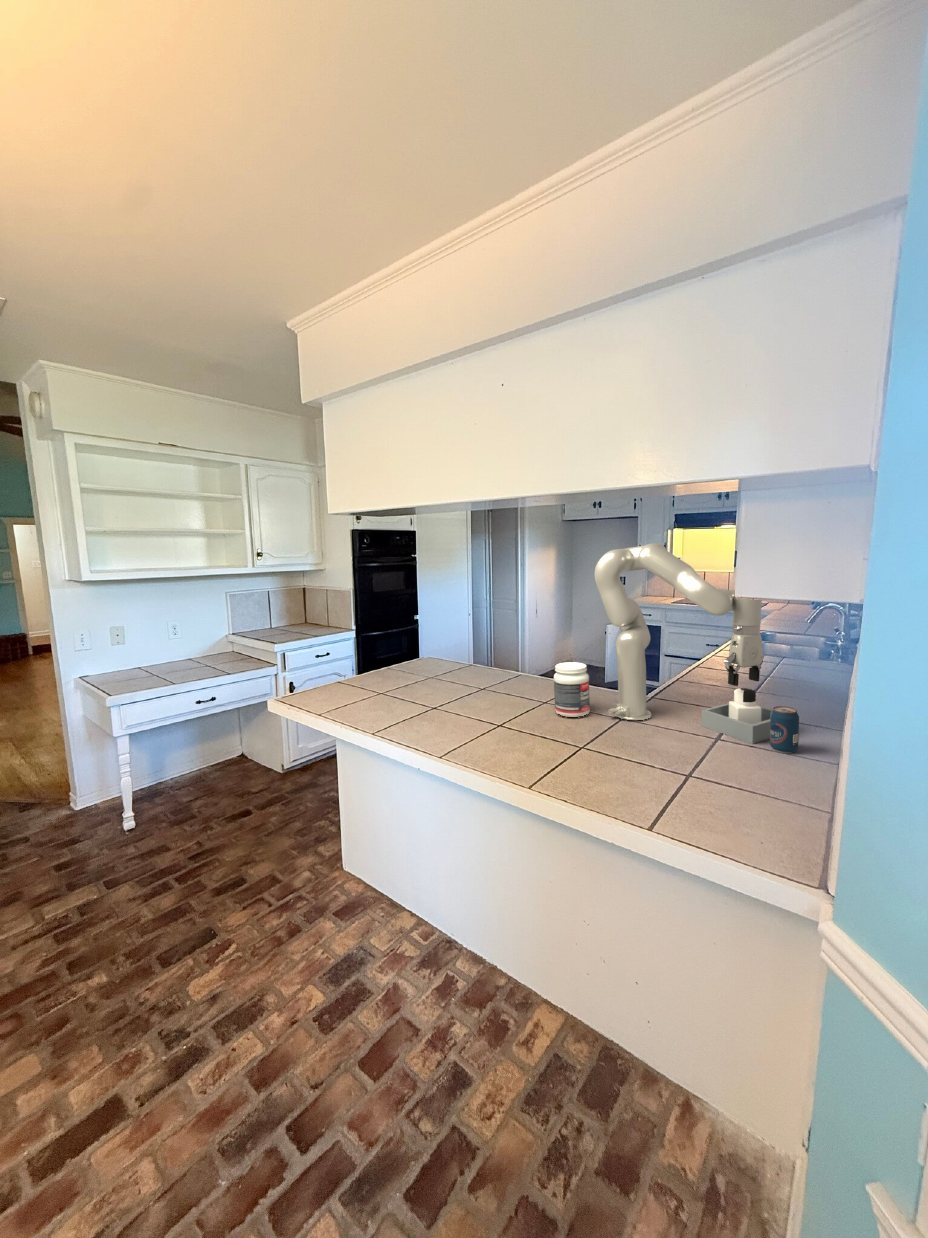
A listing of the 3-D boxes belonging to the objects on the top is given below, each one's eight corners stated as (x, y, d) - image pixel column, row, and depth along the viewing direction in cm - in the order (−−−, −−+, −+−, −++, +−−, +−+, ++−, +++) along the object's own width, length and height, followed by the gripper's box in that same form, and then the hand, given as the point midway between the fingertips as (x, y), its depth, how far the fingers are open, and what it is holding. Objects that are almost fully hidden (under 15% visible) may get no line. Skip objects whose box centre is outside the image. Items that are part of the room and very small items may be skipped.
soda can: (764, 747, 144) (764, 708, 142) (780, 742, 146) (781, 704, 145) (786, 756, 137) (787, 715, 136) (804, 751, 140) (805, 710, 138)
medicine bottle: (751, 721, 161) (752, 686, 160) (761, 729, 154) (762, 692, 153) (728, 721, 162) (728, 686, 161) (737, 729, 155) (737, 693, 154)
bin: (752, 744, 147) (752, 726, 146) (701, 726, 163) (701, 710, 162) (791, 731, 154) (791, 714, 153) (738, 715, 170) (738, 700, 169)
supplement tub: (591, 719, 176) (590, 669, 173) (555, 719, 178) (553, 670, 175) (588, 707, 188) (587, 661, 186) (554, 708, 190) (552, 662, 188)
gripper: (738, 634, 147) (735, 690, 150) (776, 628, 154) (772, 681, 157) (716, 631, 154) (714, 684, 157) (753, 625, 161) (750, 676, 163)
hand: (743, 682), depth 157 cm, fingers open, 9 cm apart
